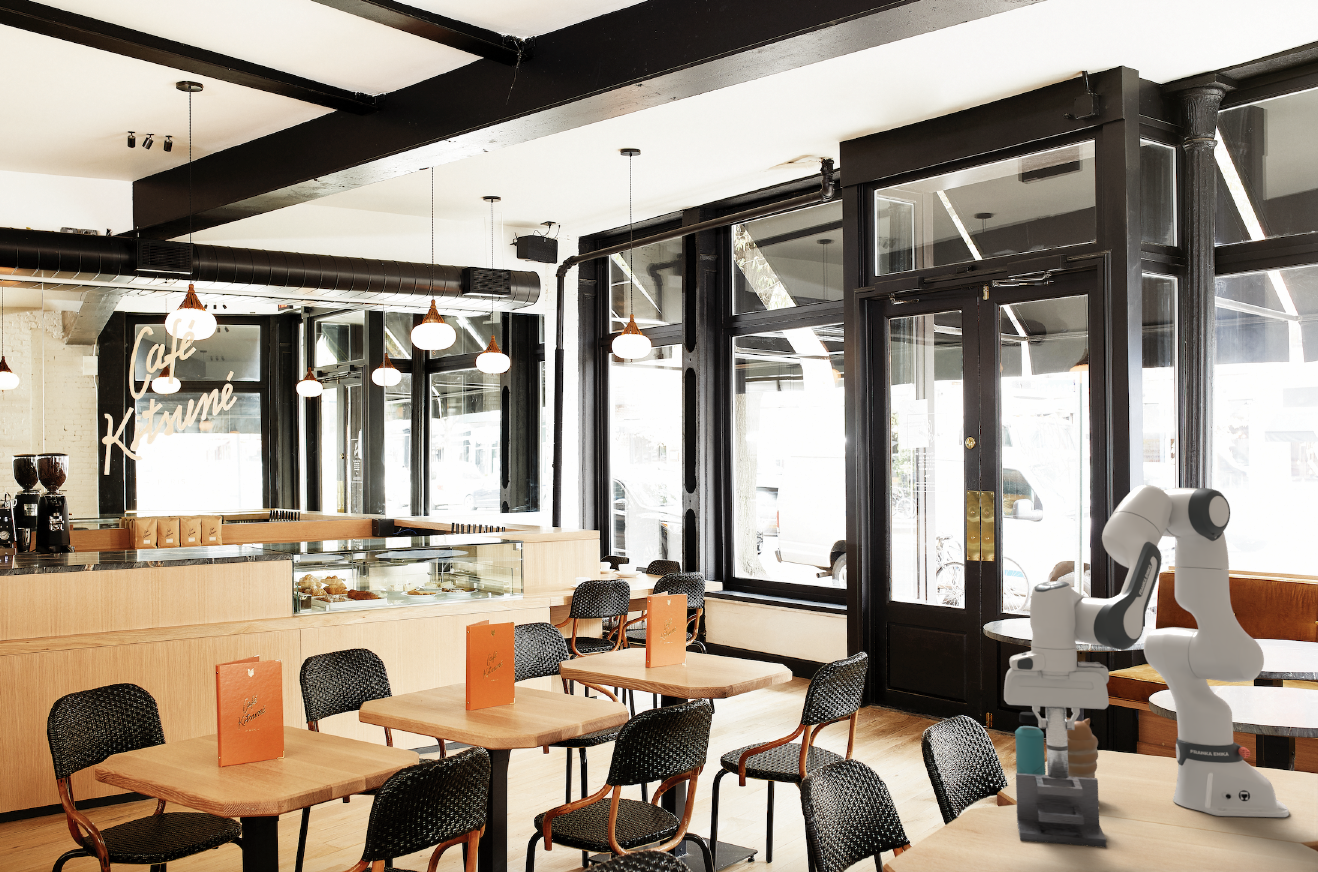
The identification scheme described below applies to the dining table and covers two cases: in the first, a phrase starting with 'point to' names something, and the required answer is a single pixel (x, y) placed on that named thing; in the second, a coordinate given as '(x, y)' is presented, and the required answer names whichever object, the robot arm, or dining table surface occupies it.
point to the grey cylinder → (1057, 742)
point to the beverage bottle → (1029, 746)
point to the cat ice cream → (1082, 750)
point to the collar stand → (1058, 810)
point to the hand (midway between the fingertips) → (1056, 728)
